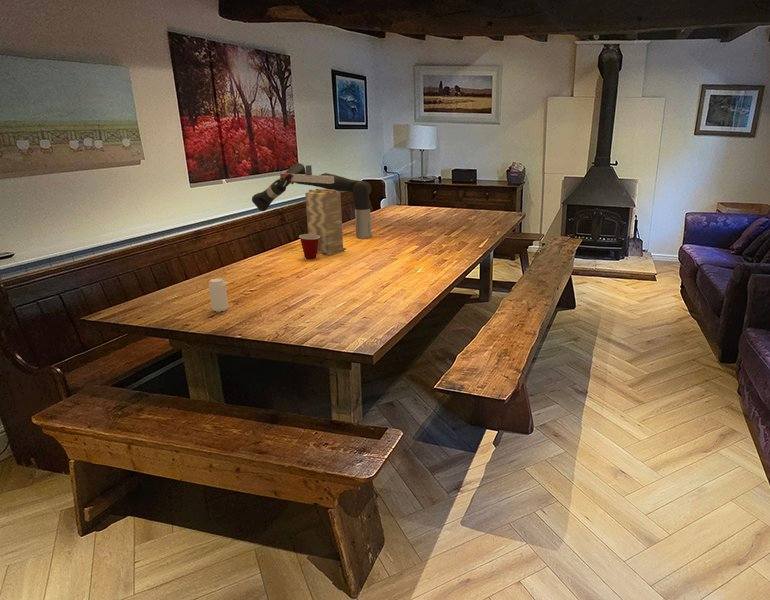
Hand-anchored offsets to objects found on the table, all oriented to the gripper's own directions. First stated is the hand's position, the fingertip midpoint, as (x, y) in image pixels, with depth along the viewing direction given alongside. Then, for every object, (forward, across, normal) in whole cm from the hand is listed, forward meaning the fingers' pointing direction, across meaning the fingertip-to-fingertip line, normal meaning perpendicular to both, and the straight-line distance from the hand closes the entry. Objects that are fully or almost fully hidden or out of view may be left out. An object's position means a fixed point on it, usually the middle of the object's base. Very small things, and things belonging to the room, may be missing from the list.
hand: (293, 174), depth 291 cm
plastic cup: (+1, -16, +47) cm, 49 cm away
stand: (-2, 0, +45) cm, 45 cm away
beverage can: (+24, -94, +60) cm, 114 cm away
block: (+7, 0, +8) cm, 10 cm away
